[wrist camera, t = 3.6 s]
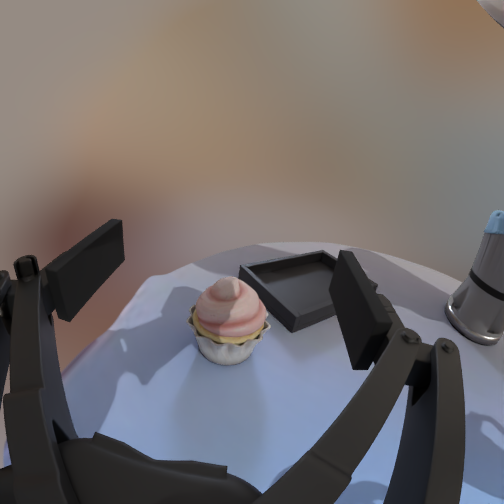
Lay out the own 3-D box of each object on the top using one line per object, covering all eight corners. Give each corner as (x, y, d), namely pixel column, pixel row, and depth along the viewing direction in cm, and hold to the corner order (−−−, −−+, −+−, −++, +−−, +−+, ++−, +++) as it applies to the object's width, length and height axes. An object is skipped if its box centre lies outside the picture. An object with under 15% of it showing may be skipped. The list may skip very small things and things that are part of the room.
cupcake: (257, 385, 27) (274, 315, 23) (175, 363, 28) (171, 291, 24) (269, 331, 35) (283, 265, 31) (202, 316, 37) (205, 250, 32)
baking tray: (319, 262, 57) (322, 249, 56) (373, 297, 46) (378, 284, 45) (238, 279, 46) (239, 265, 45) (291, 333, 36) (296, 317, 35)
